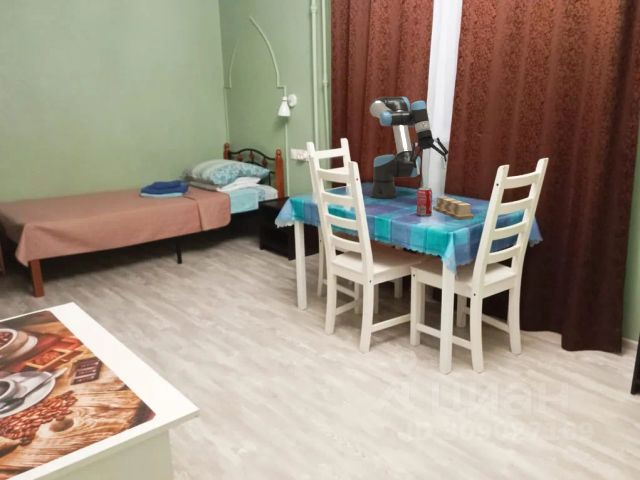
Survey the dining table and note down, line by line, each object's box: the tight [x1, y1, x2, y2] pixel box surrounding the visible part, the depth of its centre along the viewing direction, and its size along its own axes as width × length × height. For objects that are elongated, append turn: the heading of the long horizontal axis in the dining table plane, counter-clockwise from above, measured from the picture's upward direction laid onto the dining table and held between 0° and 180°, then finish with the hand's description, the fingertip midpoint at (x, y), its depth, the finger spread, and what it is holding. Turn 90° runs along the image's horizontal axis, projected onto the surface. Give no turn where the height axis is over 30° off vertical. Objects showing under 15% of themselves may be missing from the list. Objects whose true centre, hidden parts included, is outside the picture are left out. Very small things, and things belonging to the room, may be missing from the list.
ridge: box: [432, 195, 475, 221], centre depth 251 cm, size 24×8×6 cm, turn 18°
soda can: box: [416, 187, 433, 217], centre depth 249 cm, size 7×7×13 cm
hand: (431, 171), depth 265 cm, fingers open, 13 cm apart
